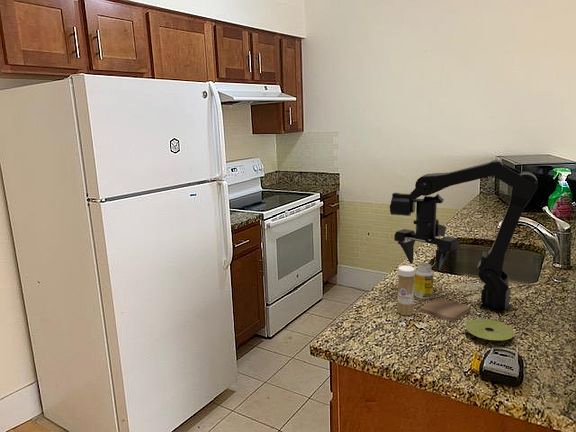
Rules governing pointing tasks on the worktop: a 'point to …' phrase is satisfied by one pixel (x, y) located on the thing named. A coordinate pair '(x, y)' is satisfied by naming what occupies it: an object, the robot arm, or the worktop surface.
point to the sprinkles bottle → (405, 290)
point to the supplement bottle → (423, 281)
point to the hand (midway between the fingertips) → (424, 266)
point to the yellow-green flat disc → (489, 329)
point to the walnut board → (445, 309)
